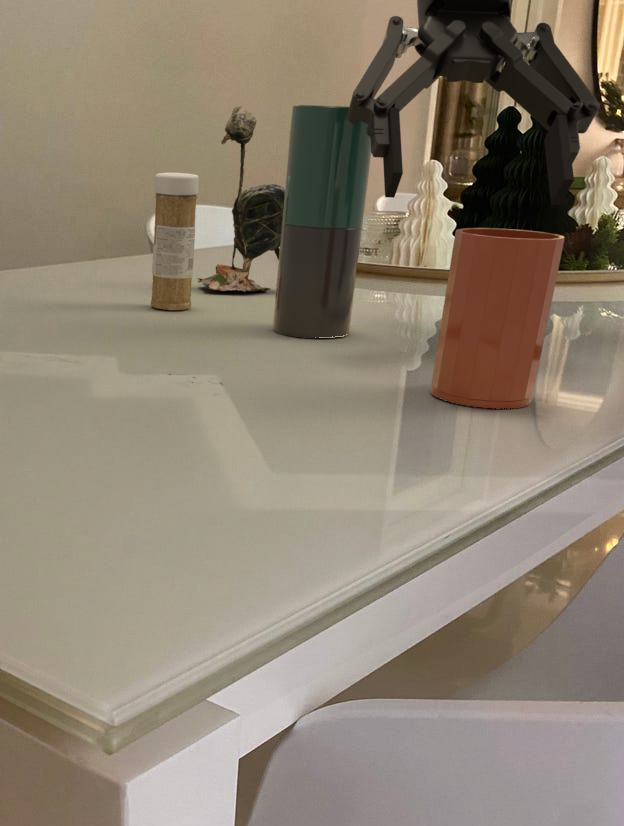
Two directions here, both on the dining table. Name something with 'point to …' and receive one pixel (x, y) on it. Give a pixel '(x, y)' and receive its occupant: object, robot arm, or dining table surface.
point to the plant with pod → (249, 216)
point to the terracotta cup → (495, 316)
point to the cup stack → (321, 222)
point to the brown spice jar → (174, 240)
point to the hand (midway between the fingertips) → (478, 189)
